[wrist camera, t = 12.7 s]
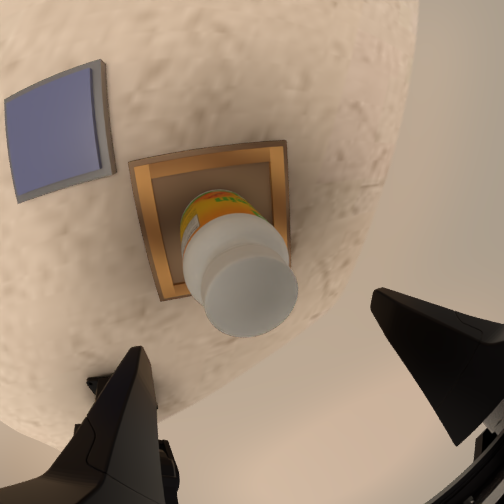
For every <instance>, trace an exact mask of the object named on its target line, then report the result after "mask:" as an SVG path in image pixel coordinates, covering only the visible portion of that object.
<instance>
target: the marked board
mask: <svg viewBox="0 0 504 504" xmlns="http://www.w3.org/2000/svg"><path fill="white" fill-rule="evenodd" d="M128 165H129V171H130V177H131V183H132V188H133V194H134V199H135V204H136V209H137V213H138V218H139V223H140V227H141V231H142V236H143V240H144V244H145V248H146V252H147V256H148V260H149V263H150V267H151V271H152V274H153V278H154V281H155V285H156V288H157V292H158V295H159V298H160V301H167V300H172V299H177V298H183V297H188V296H192V295H191V293H190V291H189V290H188V288H187V285H186V282H185V279H184V274H183V264H182V252H181V238H180V224H181V218H182V215H183V213H184V211H185V209H186V207H187V206H188V205H189V203H190V202H191V201H192V200H193V199H194V198H196V197H197V196H199V195H200V194H202V193H204V192H207V191H210V190H217V189H222V190H229V191H232V192H234V193H236V194H238V195H240V196H241V197H243V198H244V199H245V200H246V201H247V202H248V203H249V204H250V205H251V206H252V207H254V209H255V210H257V211H258V212H259V213H260V214H261V215H262V216H263V217H264V218H265V219H266V220H267V221H268V222H269V223H270V224H271V225H272V226H273V227H274V228H275V229H276V230H277V231H278V232H279V234H280V235H281V236H282V238H283V240H284V242H285V244H286V247H287V250H288V254H289V267H290V268H291V244H290V206H289V180H288V159H287V141H286V140H280V141H265V142H253V143H242V144H232V145H224V146H216V147H208V148H201V149H194V150H188V151H182V152H176V153H170V154H164V155H159V156H154V157H149V158H144V159H139V160H135V161H130V162H128Z"/></svg>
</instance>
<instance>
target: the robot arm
mask: <svg viewBox="0 0 504 504" xmlns="http://www.w3.org/2000/svg"><path fill="white" fill-rule="evenodd" d="M370 308H371V312H372V313H373V315H374V317H375V319H376V320H377V322H378V324H379V326H380V327H381V329H382V330H383V333H384V334H385V336H386V338H387V339H388V341H389V342H390V344H391V345H392V347H393V348H394V350H395V351H396V352H397V354H398V355H399V357H400V358H401V360H402V361H403V363H404V364H405V366H406V367H407V369H408V370H409V372H410V373H411V374H412V376H413V378H414V379H415V381H416V382H417V384H418V385H419V387H420V388H421V390H422V391H423V393H424V394H425V396H426V398H427V399H428V401H429V402H430V404H431V406H432V407H433V409H434V411H435V412H436V414H437V416H438V417H439V419H440V421H441V422H442V424H443V426H444V427H445V429H446V431H447V432H448V434H449V436H450V438H451V439H452V441H453V443H454V444H455V446H458V445H459V444H460V443H462V441H464V440H465V439H466V438H467V437H468V436H469V435H470V434H471V433H472V432H473V431H474V430H475V429H476V428H477V427H478V426H479V425H480V424H481V423H482V422H483V423H484V425H485V426H486V427H487V428H486V429H485V430H484V431H483V432H482V433H481V434H480V435H479V436H478V437H477V438H476V442H475V453H474V461H473V463H472V464H471V465H470V466H469V467H468V468H467V469H466V470H465V471H464V472H463V473H462V474H461V475H460V476H458V477H457V478H456V479H455V480H454V481H453V482H452V483H450V484H449V485H448V486H447V487H446V488H444V489H443V490H442V491H441V492H440V493H438V494H437V495H436V496H434V497H433V498H432V499H430V500H429V501H428V502H426V503H425V504H504V324H500V323H496V322H492V321H488V320H484V319H480V318H476V317H473V316H469V315H466V314H463V313H460V312H457V311H453V310H450V309H448V308H445V307H442V306H438V305H435V304H432V303H429V302H426V301H423V300H420V299H417V298H414V297H411V296H408V295H405V294H402V293H399V292H396V291H393V290H390V289H386V288H383V287H382V288H378V289H376V290H374V292H373V295H372V300H371V306H370ZM87 385H88V386H89V388H90V389H91V390H92V392H93V393H94V394H95V403H94V404H93V406H92V408H91V409H90V411H89V412H88V414H87V417H85V419H84V420H83V422H82V424H75V428H74V436H73V437H72V439H71V440H70V442H69V443H68V444H67V446H66V447H65V448H64V450H63V451H62V452H61V454H60V455H59V456H58V458H57V459H56V460H55V462H54V463H53V464H52V466H51V467H50V468H49V469H48V470H47V471H46V472H45V473H44V474H43V475H41V476H39V477H37V478H34V479H31V480H28V481H25V482H22V483H18V484H15V485H11V486H7V487H4V488H0V504H178V499H177V491H178V488H179V482H180V479H179V471H178V468H177V465H176V462H175V460H174V457H173V454H172V451H171V448H170V445H169V442H168V441H167V440H158V429H157V409H158V405H157V403H156V398H155V391H154V384H153V377H152V369H151V364H150V361H149V359H148V356H147V354H146V352H145V350H144V348H143V347H142V346H135V347H131V348H130V349H129V351H128V352H127V354H126V355H125V357H124V358H123V360H122V361H121V363H120V364H119V366H118V367H117V369H116V370H115V372H114V373H113V375H112V376H111V377H100V378H88V379H87Z"/></svg>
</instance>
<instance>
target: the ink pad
mask: <svg viewBox="0 0 504 504" xmlns="http://www.w3.org/2000/svg"><path fill="white" fill-rule="evenodd" d="M4 105H5V126H6V138H7V147H8V155H9V162H10V168H11V174H12V179H13V184H14V189H15V194H16V198H17V202H18V204H19V203H22V202H25V201H27V200H30V199H33V198H36V197H39V196H42V195H45V194H48V193H51V192H54V191H57V190H60V189H63V188H66V187H70V186H73V185H76V184H80V183H83V182H87V181H91V180H94V179H98V178H102V177H106V176H110V175H113V174H114V173H116V172H117V171H116V165H115V159H114V153H113V146H112V138H111V130H110V121H109V111H108V100H107V85H106V64H105V63H104V62H103V61H102V60H101V59H99V60H96V61H92V62H89V63H86V64H83V65H80V66H77V67H74V68H72V69H69V70H66V71H64V72H61V73H58V74H56V75H54V76H51V77H49V78H46V79H44V80H42V81H40V82H38V83H35V84H33V85H31V86H29V87H27V88H25V89H23V90H21V91H19V92H17V93H15V94H13V95H12V96H10V97H8V98H6V99H4Z"/></svg>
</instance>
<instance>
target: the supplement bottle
mask: <svg viewBox="0 0 504 504" xmlns="http://www.w3.org/2000/svg"><path fill="white" fill-rule="evenodd" d="M180 238H181V252H182V264H183V274H184V279H185V282H186V285H187V288H188V290H189V291H190V293H191V295H192V296H193V297H194V298H195V300H196V301H198V302H199V303H200V304H201V305H202V306H204V308H205V312H206V315H207V317H208V319H209V320H210V322H211V323H212V324H213V325H214V327H216V328H217V329H218V330H220V331H221V332H223V333H225V334H227V335H230V336H235V337H254V336H258V335H261V334H264V333H267V332H269V331H271V330H272V329H274V328H276V327H277V326H278V325H280V324H281V323H282V322H283V321H284V320H285V319H286V318H287V317H288V316H289V314H290V313H291V311H292V310H293V308H294V306H295V303H296V301H297V296H298V284H297V280H296V277H295V275H294V273H293V271H292V270H291V268H290V267H289V254H288V250H287V247H286V244H285V242H284V240H283V238H282V236H281V235H280V234H279V232H278V231H277V230H276V229H275V228H274V227H273V226H272V225H271V224H270V223H269V222H268V221H267V220H266V219H265V218H264V217H263V216H262V215H261V214H260V213H259V212H258V211H257V210H255V209H254V207H252V206H251V205H250V204H249V203H248V202H247V201H246V200H245V199H244V198H243V197H241V196H240V195H238V194H236V193H234V192H232V191H229V190H222V189H217V190H210V191H207V192H204V193H202V194H200V195H199V196H197V197H196V198H194V199H193V200H192V201H191V202H190V203H189V205H188V206H187V207H186V209H185V211H184V213H183V215H182V218H181V224H180Z"/></svg>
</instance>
